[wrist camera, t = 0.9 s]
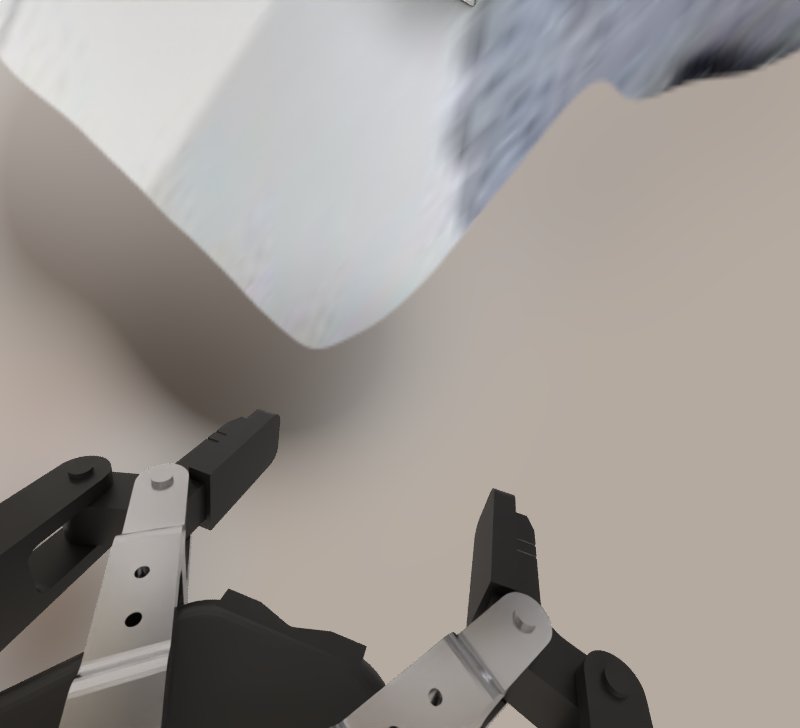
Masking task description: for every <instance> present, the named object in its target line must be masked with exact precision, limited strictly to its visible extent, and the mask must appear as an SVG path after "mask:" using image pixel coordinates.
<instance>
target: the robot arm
mask: <svg viewBox="0 0 800 728" xmlns="http://www.w3.org/2000/svg"><path fill="white" fill-rule="evenodd" d="M279 427H280V416H279V415H277V414H274V413H272V412H268V411H265V410H262V409H258V410H256V411H255V412H254V413H253V414H251V415H250V416H249V417H248V418H247V419H246V418H243V417H240V418H238V419H235V420H232V421H230V422H228V423H226V424H225V425H224V426H222V427H221V428H220V429H218V430H217V432H216V433H213V434H212V435H211V436H209V437H208V439H206V440H204V441H203V442H202V443H201V444H199V445H198V446H197V447H196V448H194V449H193V450H192V451H190V452H189V453H188V454H187V455H185V456H184V457H183V458H182V459H180V460H179V461H178V462H177V463H175V464H170V463H169V464H160V465H156V466H153V467H151V468H148V469H147V470H145V471H143V472H142V473H141V474H131V473H120V472H112V468H111V464H110V462H109V461H108V460H107V459H106V458H103V457H99V456H84V457H79V458H75V459H72V460H69V461H67V462H65V463H63V464H61V465H60V466H58V467H57V468H55V469H53V470H52V471H50V472H49V473H47V474H45V475H44V476H42V477H41V478H39V479H38V480H36V481H34V482H33V483H31V484H30V485H28V486H27V487H25V488H23V489H22V490H20V491H19V492H17V493H16V494H14V495H12V496H11V497H10V498H8V499H6V500H5V501H3V502H2V503H0V652H1V650H3V649H4V648H5V647H6V646H7V645H8V644H9V643H10V642H11V641H12V640H13V639H14V638H15V637H16V636H17V635H18V634H20V633H21V632H22V631H23V630H24V629H25V628H26V627H27V626H28V625H29V624H30V623H31V622H32V621H33V620H34V619H35V618H36V617H37V616H39V614H41V613H42V612H43V611H44V610H45V609H46V608H47V607H48V606H49V605H50V604H51V603H52V602H53V601H54V600H55V599H56V598H57V597H59V596H60V595H61V594H62V593H63V592H64V591H65V590H66V589H67V588H68V587H69V586H70V585H71V584H72V583H73V582H74V581H75V580H76V579H77V578H79V577H80V576H81V575H82V574H83V573H84V572H85V571H86V570H87V569H88V568H89V567H90V566H91V565H92V564H93V563H94V562H95V561H97V559H99V558H100V557H101V556H102V555H103V554H104V553H105V552H106V551H107V550H108V549H109V548H110V547H111V546H112V548H111V552H110V556H109V560H108V563H107V567H106V571H105V575H104V578H103V582H102V586H101V590H100V594H99V598H98V601H97V605H96V609H95V613H94V617H93V620H92V624H91V628H90V632H89V636H88V640H87V643H86V647H85V651H84V652H82V653H80V654H78V655H76V656H74V657H72V658H70V659H68V660H66V661H64V662H62V663H60V664H57V665H56V666H54V667H51V668H49V669H47V670H45V671H43V672H41V673H39V674H37V675H35V676H33V677H30V678H28V679H26V680H24V681H22V682H20V683H18V684H16V685H14V686H12V687H10V688H8V689H6V690H4V691H1V692H0V728H488V727H489V725H490V724H491V723H492V722H493V721H494V719H495V718H496V717H497V716H498V715H499V714H500V712H502V710H503V709H504V708H505V707H506V706H507V705H508V703H509V704H510V705H511V706H513V707H514V708H515V709H516V710H517V711H518V712H519V713H521V714H522V715H523V716H524V717H525V718H527V719H528V720H529V721H530V722H531V723H532V724H534V725H535V726H536V727H537V728H653V725H652V721H651V717H650V713H649V708H648V704H647V700H646V696H645V693H644V690H643V688H642V686H641V684H640V682H639V680H638V679H637V677H636V676H635V674H634V673H633V672H632V671H631V669H630V668H629V667H628V666H627V665H626V664H625V663H624V662H622V661H621V660H620V659H618V658H617V657H616V656H614V655H612V654H610V653H608V652H605V651H600V650H597V651H596V650H595V651H592V652H590V653H589V654H588V655H586V654H584V653H583V652H581V651H580V650H579V649H577V648H576V647H574V646H573V645H572V644H570V643H569V642H567V641H566V640H565V639H564V638H562V637H561V636H560V635H559V634H558V633H557V632H556V631H555V630H554V629H553V628H552V626H551V622H550V619H549V617H548V615H547V613H546V612H545V610H544V609H543V608H542V607H541V602H540V591H539V580H538V570H537V569H538V568H537V559H536V547H535V534H534V529H533V527H532V525H531V523H530V521H529V519H528V518H527V516H525V515H522V514H519V513H516V507H515V496H514V495H512V494H509V493H505V492H503V491H500V490H497V489H494V488H493V489H492V490H491V492H490V495H489V497H488V500H487V502H486V504H485V507H484V509H483V512H482V514H481V516H480V519H479V522H478V525H477V529H476V533H475V540H474V551H473V561H472V572H471V584H470V594H469V605H468V617H467V627H466V628H465V629H464V630H463V631H462V632H461V633H459V634H457V635H456V634H455V633H454V632H452V633H450V634H448V635H447V636H445V637H444V638H443V639H441V640H440V641H439V642H438V643H437V644H435V645H434V646H433V647H432V648H431V649H429V650H428V651H427V652H426V653H424V654H423V655H422V656H421V657H420V658H418V659H417V660H416V661H415V662H414V663H413V664H411V665H410V666H409V667H408V668H406V669H405V670H404V671H403V672H401V673H400V674H399V675H398V676H397V677H395V678H394V679H393V680H392V681H390V682H389V683H388V684H387V685H385V683H384V682H383V680H382V679H381V677H380V676H379V675H378V673H377V672H376V671H375V670H374V669H373V668H372V667H371V665H370V664H368V663H367V662H366V661H365V660H364V659H363V657H364V653H365V650H366V646H365V645H362V644H360V643H357V642H355V641H353V640H350V639H348V638H345V637H343V636H341V635H338V634H336V633H333V632H331V631H322V630H313V629H304V628H296V627H291V626H289V625H288V624H286V623H285V622H284V621H283V620H282V619H280V618H279V617H278V616H277V615H276V614H274V613H273V612H272V611H271V610H270V609H268V608H267V607H266V606H265V605H263V604H262V603H261V602H259V601H257V600H255V599H252V598H250V597H247V596H245V595H243V594H240V593H238V592H235V591H233V590H231V589H228V590H227V591H226V593H225V594H224V596H223V597H222V598H221V600H202V601H195V602H191V603H188V583H189V568H190V554H191V540H192V536H191V534H192V532H193V531H194V530H195V529H196V528H197V527H198V526H201V527H204V528H206V529H208V530H212V529H213V528H214V526H215V525H216V524H217V523H218V522H219V521H220V520H221V518H223V516H224V515H225V514H226V513H227V512H228V511H229V510H230V509H231V507H232V506H233V505H234V504H235V503H236V502H237V501H238V500H239V499H240V498H241V496H242V495H243V494H244V493H245V492H246V491H247V490H248V489H249V488H250V486H251V485H252V484H253V483H254V482H255V481H256V480H257V479H258V477H259V476H260V475H261V474H262V473H263V472H264V471H265V470H266V469H267V468H268V466H269V465H270V464H271V463H272V461H273V460H274V458H275V456H276V453H277V449H278V439H279ZM61 526H63V528H62V529H60V530H59V531H58V532H57V533H55V534H54V535H53V536H51V537H50V538H49V539H48V540H47V541H45V542H44V543H43V544H41V545H40V546H39V547H38V548H36V549H35V547H36V546H37V545H38V544H40V543H41V542H42V541H43V540H45V539H46V538H47V537H48V536H50V535H51V534H52V533H53V532H55V531H56V530H57V529H59V528H60V527H61ZM34 549H35V550H34ZM33 550H34V551H33ZM32 551H33V552H32Z"/></svg>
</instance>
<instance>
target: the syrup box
mask: <svg viewBox="0 0 800 728" xmlns="http://www.w3.org/2000/svg"><path fill="white" fill-rule="evenodd" d="M463 1H465V2H467V3H468V4H470V5H472V6H474V5H475V3H476V1H477V0H463Z"/></svg>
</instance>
